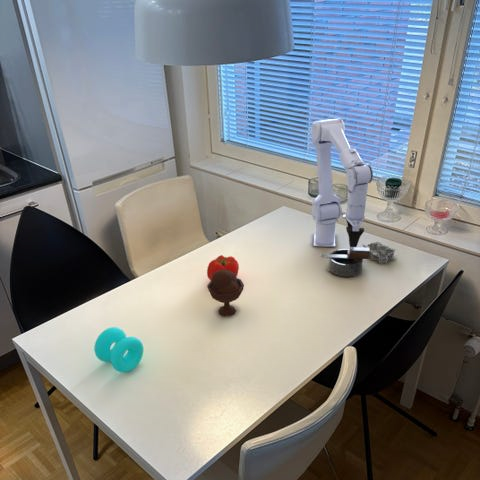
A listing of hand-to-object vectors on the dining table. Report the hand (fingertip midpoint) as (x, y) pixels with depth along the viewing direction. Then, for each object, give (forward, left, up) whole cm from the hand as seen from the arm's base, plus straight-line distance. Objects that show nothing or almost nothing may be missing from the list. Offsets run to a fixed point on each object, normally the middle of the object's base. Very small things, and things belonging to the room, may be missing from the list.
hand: (352, 241), depth 166 cm
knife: (+1, -2, -5) cm, 6 cm away
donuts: (+56, -64, -11) cm, 86 cm away
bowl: (+1, -2, -10) cm, 11 cm away
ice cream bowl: (+29, -39, -11) cm, 50 cm away
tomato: (+12, -43, -11) cm, 46 cm away
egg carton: (-9, +10, -11) cm, 17 cm away
